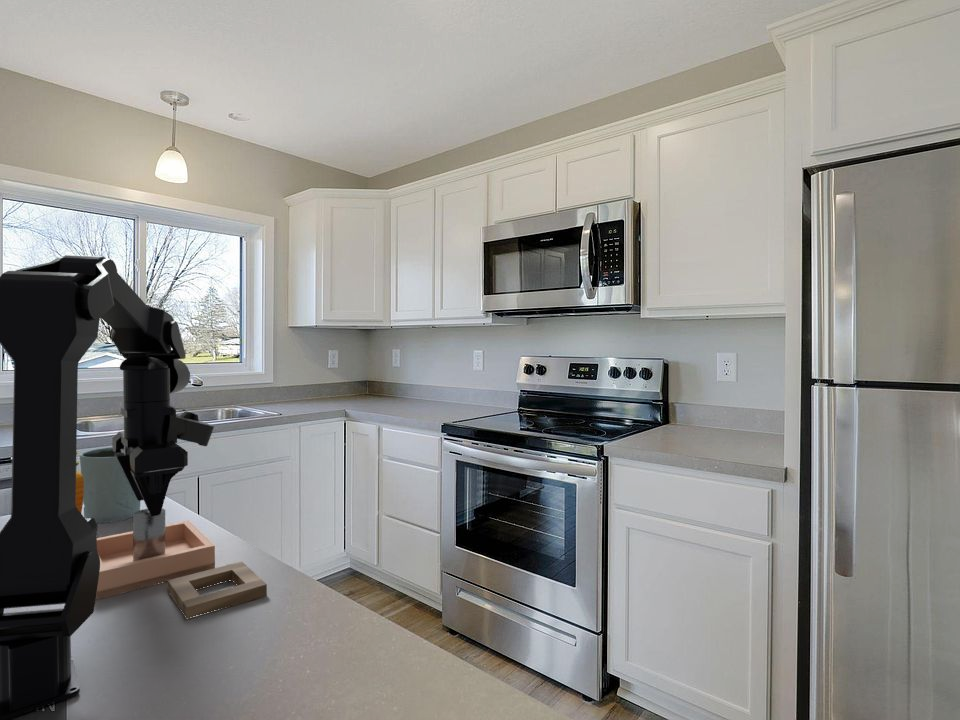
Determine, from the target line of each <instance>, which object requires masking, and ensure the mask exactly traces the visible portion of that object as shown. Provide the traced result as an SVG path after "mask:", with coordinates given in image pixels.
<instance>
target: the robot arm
mask: <svg viewBox="0 0 960 720" xmlns="http://www.w3.org/2000/svg"><path fill="white" fill-rule="evenodd" d="M100 319H101V320H102V321H103V322H104V323H106V324H107V325H108V326H109V327H110V333H109V334H110V340H111V341H112V343H113V344H114V345H115V346H116V348H117V351H118V353H119V354H120V355H121V356H123V358H124V360H123V361H122V362H121V363H120V365H119V370H120V371H122V377H123V378H122V386H123V388H122V389H123V391H122V392H123V406H120V414H121V415H122V416H123V431H118V432H117V433H116V434H115V435H114V436H113V437H112V438H111V439H112V441H111V442H112V445H111V447H112V450H113V451H114V452H115V453H116V454H115V457H116V458H117V460H118V462H119V464H120V466H121V468H122V470H123V472H124V474H125V476H126V478H127V480H128V482H129V484H130V486H131V488H132V490H133V492H134V494H135V496H136V498H137V500H138V501H140V502H141V501H143V502H144V504H145V506H146V509H148V511H149V513H150V515H151V516H158V515H160V514H161V510H162V509H163V507H164V502H165V499H166V495H167V492H168V489H169V486H170V482H171V480H172V479H173V478H174V477H175V476H176V475H177V474H178V473H179V472H182V471H183V470H184V469H185V467H188V466H189V456H188V453H189V452H188V451H187V450H186V449H184V448H183V447H182V446H180V444H178V440H181V441H186V442H191V443H194V444H197V445H198V446H201V447H208V445H209V442H210V439H211V437H212V434H213V431H214V428H215V425H212V424H210V423H206V422H203V421H200V420H199V415H198V414H197V413H195V412H190V411H187V410H185V411H184V412H183V413H182V414H180V416H179V415H177V410H176V408H174V407H173V406H172V405H171V394H175V393H178V392H180V391H182V390H183V389H185V388H186V387H187V386H188V384H189V382H190V378H191V372H190V370H189V367H188V366H187V365H186V363H185V362H183V361H182V360H184V359H186V357H187V355H186V351H185V347H184V343H183V339H182V334H181V331H180V327H179V324H178V322H177V321H175V319H174V317H173V316H172V315H171V314H170V313H169V312H167V311H166V310H164V309H162V308H159V307H158V308H157V307H153V306H149V305H148V304H146V303H145V302H144V300H143V299H142V298H141V297H140V296H139V295H138V294H137V293H136V291H134V289H133V288H132V287H131V286H130V285H129V284H128V283H127V281H125V279H124V278H123V277H122V276H121V275H120V274H119V273H118V269H117V265H116V263H115V261H114V260H113V259H111V258H106V257H105V256H102V255H101V256H100V255H99V256H97V255H78V254H77V255H75V254H74V255H73V254H72V255H70V254H65V255H64V256H58V257H56V258H55V259H53V260H52V261H49V262H46V263H40V264H37V265H33V266H29V267H25V268H20V269H16V270H7V271H5V272H3V273H2V274H1V275H0V345H1V347H2V348H3V349H4V350H5V352H6V354H8V356H9V358H10V359H11V360H12V361H13V369H14V370H13V403H12V405H13V407H12V409H13V410H12V411H13V412H12V415H13V416H12V456H11V457H12V461H11V463H12V465H11V470H12V471H11V505H10V507H11V509H10V510H11V511H10V518H9V519H8V521H7V522H6V523H5V524H4V526H3V527H2V529H1V530H0V720H9V719H13V718H15V717H17V716H18V717H19V716H20V715H23V714H27V713H29V712H31V711H34V710H35V711H36V710H38V709H41V708H43V707H47V706H50V705H52V704H56V703H57V702H61V701H64V700H66V699H67V700H68V699H69V698H73V697H75V696H77V695H79V694H80V692H81V691H80V690H81V689H80V687H81V686H80V683H79V679H78V678H79V677H78V675H77V670H76V666H75V662H74V660H73V659H72V641H71V640H72V639H71V637H72V636H73V635H74V634H75V632H76V631H77V630H78V629H80V627H81V626H82V625H84V623H85V622H86V621H87V620H88V619H90V618H89V617H91V616H92V615H93V614H94V612H95V606H96V600H97V599H96V593H97V586H98V579H99V571H100V557H99V554H98V551H97V538H98V531H99V529H98V528H99V526H98V523H96V521H95V519H94V518H84V514H82V512H81V513H80V511H79V510H78V509H77V508H76V471H77V466H76V462H77V455H76V451H77V445H78V444H77V438H78V433H77V432H78V431H77V430H78V428H77V427H78V384H79V383H78V379H79V378H78V375H79V374H78V371H79V369H78V368H79V362H80V361H81V360H82V358H83V357H84V355H85V354H86V353H87V352H88V350H89V349H90V348H91V347H92V345H93V344H94V342H95V341H96V340H97V339H98V335H99V327H100ZM120 449H121V453H118V452H120ZM53 605H64V606H63V607H62V608H53V609H52V608H51V609H41V610H39V609H38V610H27V611H18V612H17V611H16V612H15V611H14V612H5V609H6V610H7V609H17V608H18V609H19V608H29V607H30V608H31V607H42V606H44V607H45V606H53Z"/></svg>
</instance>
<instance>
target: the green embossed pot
mask: <svg viewBox="0 0 960 720" xmlns="http://www.w3.org/2000/svg"><path fill="white" fill-rule="evenodd" d="M118 453H121V449H120V452H118ZM115 454H116V453H115V452H114V451H113V450H112V446H111V447H102V448H95V449H90V450H87V451H83V452H81V453H80V454H79V461H80V462H79V464H80V473H81V474H82V476H83V479H84V493H83V517H84V518H94V519H95V521H96V523H97V524H108V523H114V522H121V521H124V520H128V519H131V518H133V513H135V512H137V511H140V510H141V501H138V500H137V498H136V496H135V494H134V492H133V490H132V488H131V486H130V484H129V482H128V480H127V478H126V476H125V474H124V472H123V470H122V468H121V466H120V464H119V462H118V460H117V458H116V457H115Z"/></svg>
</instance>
